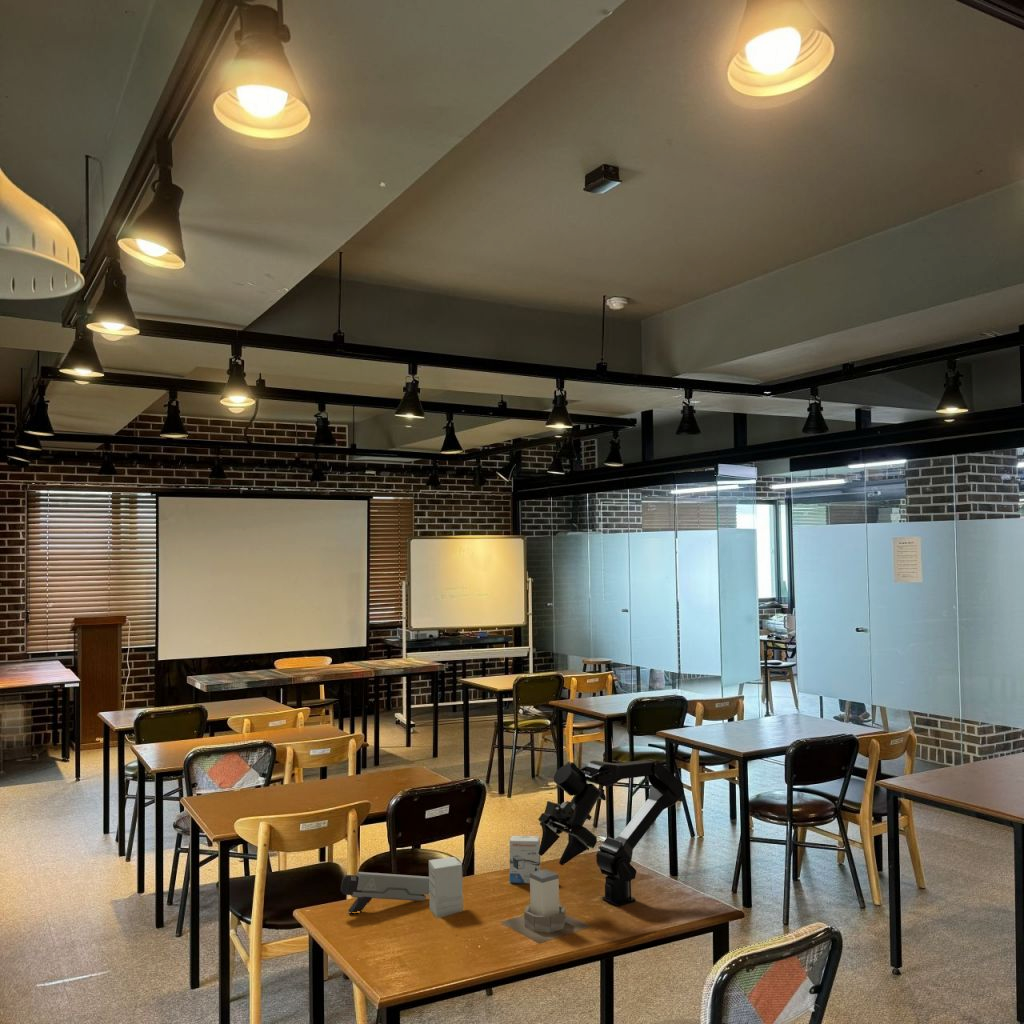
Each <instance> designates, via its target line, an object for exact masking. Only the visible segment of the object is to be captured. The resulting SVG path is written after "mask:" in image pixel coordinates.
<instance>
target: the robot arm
mask: <svg viewBox="0 0 1024 1024" xmlns="http://www.w3.org/2000/svg"><path fill="white" fill-rule="evenodd" d="M642 777H646V778H647V782H648V783H649V784H650V785H651V786H650V787H649V792H648V793H649V794H648V798H647V800H645V802H644V804H642V805H641V807H640V809H639V810H637V812H636V813H635V815H634V817H632V819H631V820H630V821H629V823H628V824H627V825H626V826H625V827H624V829H623V830H622V831H621V833H620V834H619V835H618V836H617V837H616V838H612V837H610V836H608V837H606V838H605V839H604V841H603V843H601V844H600V846H598V848H597V849H598V850H597V853H596V855H595V857H596V860H595V861H596V865H597V867H598V868H599V870H600V873H601V874H602V875H605V877H604V878H605V883H604V896H602V897H601V900H602V901H605V902H607V901H608V903H609V904H610V903H611V904H612V905H614V904H615V905H614V906H619V905H620V906H622V905H627V904H629V903H631V901H632V902H635V901H636V898H635V897H633V896H632V880H635V879H636V875H637V869H636V868H634V866H633V865H632V864H631V862H632V859H633V853H634V852H633V851H634V849H635V847H636V846H637V844H639V842H640V841H641V840H642V838H643V837H644V836H645V835H646V833H647V831H648V830H649V829H650V828H651V826H652V825H653V824H654V823H655V821H656V820H657V818H658V817H659V816H660V815H661V813H662V812H663V811H664V810H665V809H667V808H670V807H672V806H674V805H675V804H676V803H677V802H679V801H680V800H681V798H682V797H683V796H684V794H685V788H684V784H683V781H682V780H681V779H679V778H677V776H676V775H674V774H673V773H672V772H671V771H670V770H669V769H668V768H666V767H665V765H663V763H661V762H660V761H659V760H656V759H652V758H647V759H644V760H642V759H641V760H634V761H624V762H617V763H612V762H608V761H607V762H606V761H600V760H590V761H589V762H588V764H587V765H585V766H584V767H582V768H579V767H578V765H576V764H575V763H574V762H572V761H567V763H566V764H564V765H562V766H561V767H559V769H557V770H556V772H555V773H554V776H553V782H554V783H555V784H556V785H557V786H558V787H559V788H561V790H563V791H564V792H565V793H566V794H568V796H570V797H571V796H572V798H571V800H570V801H568V800H567V801H565V802H563V801H562V803H561V804H560V803H557V802H553V801H550V800H547V802H546V805H545V809H544V812H543V813H541V814H540V816H539V818H538V819H537V820H538V821H539V825H540V826H541V830H542V835H541V839H540V849H539V855H540V857H541V856H543V855H545V853H546V852H547V851H548V850H549V849H551V847H552V846H553V845H554V844H555V843H556V842H557V840H559V839H560V837H561V836H560V834H562V833H566V834H567V837H568V840H567V841H568V842H567V845H566V846H565V848H564V851H563V852H562V855H561V857H560V859H559V861H558V863H559V865H560V866H564V865H565V864H567V863H568V862H569V861H571V860H572V859H574V858H576V857H577V856H578V855H580V854H582V853H584V852H585V851H589V850H590V849H594V848H595V846H596V845H597V843H598V841H597V836H596V835H595V834H594V833H593V832H592V831H590V830H589V829H588V828H587V827H585V826H583V825H584V824H585V822H586V821H587V820H588V821H591V819H592V815H590V814H591V812H592V810H593V808H594V807H595V805H596V803H597V802H598V800H602V801H606V800H607V797H606V794H605V789H604V788H600V787H597V786H596V785H599V786H601V787H610V786H612V785H615V784H617V783H618V782H619V781H621V780H626V779H632V778H634V779H636V778H642ZM588 782H589V783H588ZM634 900H635V901H634ZM628 902H629V903H628Z"/></svg>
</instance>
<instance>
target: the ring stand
mask: <svg viewBox="0 0 1024 1024" xmlns="http://www.w3.org/2000/svg"><path fill="white" fill-rule="evenodd" d="M523 913H524V914H523V915H520V916H517V917H513V918H509V919H506V920H503V921H500V922H499V923H500V924H501V925H503V926H505V927H508V928H509V929H511V930H513V931H515V933H516V932H517V933H518V934H520V935H522V936H524V937H526V938H528V939H530V940H532V941H533V942H535V943H537V944H542V943H545V942H549V941H552V940H555V939H558V938H560V937H565V936H567V935H570V934H572V933H575V932H578V931H581V930H584V929H588V928H591V927H592V925H590V924H587V923H586V922H583V921H581V920H579V919H577V918H575V917H573V916H570V915H568V914H566V907H565V906H563V905H561V904H559V913H558V914H555V915H551V916H537V915H534V914H532V913H531V907H530V904H528V905H526V906H525V908H524V912H523Z"/></svg>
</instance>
